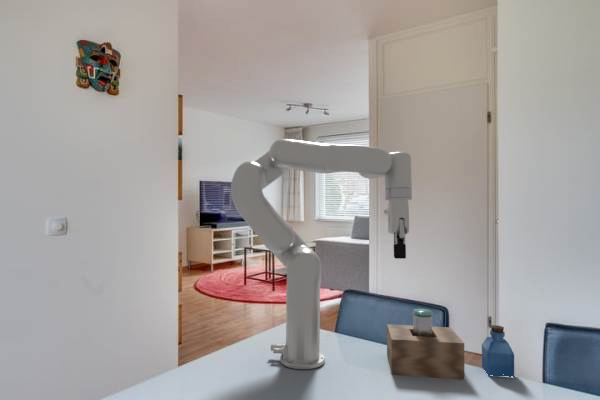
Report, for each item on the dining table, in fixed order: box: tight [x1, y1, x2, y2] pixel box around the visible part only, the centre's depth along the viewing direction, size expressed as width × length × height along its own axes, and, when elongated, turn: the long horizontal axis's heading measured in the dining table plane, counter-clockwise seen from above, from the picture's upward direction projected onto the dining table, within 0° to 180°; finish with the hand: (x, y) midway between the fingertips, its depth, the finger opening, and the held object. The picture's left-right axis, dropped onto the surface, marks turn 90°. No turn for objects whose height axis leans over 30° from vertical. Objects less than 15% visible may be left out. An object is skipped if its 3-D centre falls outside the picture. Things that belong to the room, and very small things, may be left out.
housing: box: [386, 323, 465, 380], centre depth 106 cm, size 18×14×9 cm
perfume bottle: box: [481, 324, 515, 378], centre depth 102 cm, size 6×6×12 cm
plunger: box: [412, 308, 434, 337], centre depth 106 cm, size 5×5×9 cm
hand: (399, 258), depth 112 cm, fingers closed
